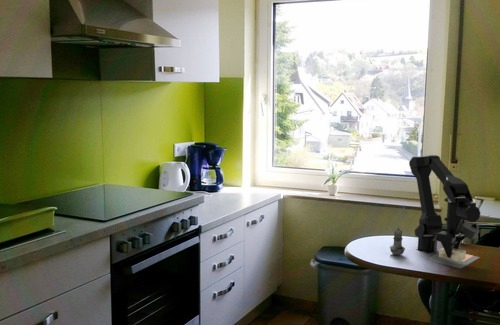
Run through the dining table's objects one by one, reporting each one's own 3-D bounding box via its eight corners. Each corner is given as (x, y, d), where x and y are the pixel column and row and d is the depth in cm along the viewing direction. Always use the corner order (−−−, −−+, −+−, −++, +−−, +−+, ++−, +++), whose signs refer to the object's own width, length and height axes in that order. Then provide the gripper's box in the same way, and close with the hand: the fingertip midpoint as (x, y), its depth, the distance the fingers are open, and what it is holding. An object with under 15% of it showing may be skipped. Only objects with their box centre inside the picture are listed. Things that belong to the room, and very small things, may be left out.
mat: (424, 260, 200) (424, 259, 200) (444, 250, 213) (444, 249, 213) (460, 269, 191) (460, 268, 191) (479, 258, 204) (479, 257, 204)
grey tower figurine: (391, 253, 209) (392, 224, 208) (406, 255, 206) (407, 226, 205) (387, 257, 204) (388, 227, 203) (402, 260, 201) (404, 229, 200)
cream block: (438, 256, 197) (439, 249, 197) (444, 253, 201) (445, 246, 200) (459, 261, 192) (460, 253, 191) (465, 258, 195) (465, 250, 195)
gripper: (466, 223, 182) (463, 267, 184) (486, 215, 195) (483, 255, 197) (435, 218, 190) (433, 259, 192) (457, 210, 203) (454, 249, 205)
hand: (452, 256), depth 196 cm, fingers closed on cream block, 5 cm apart
